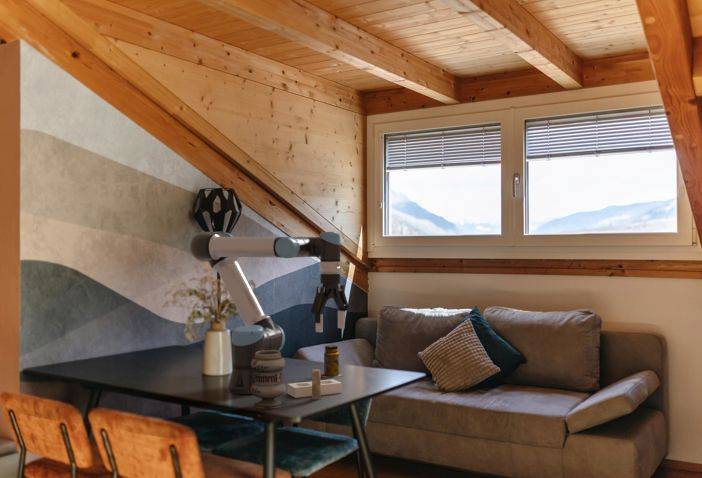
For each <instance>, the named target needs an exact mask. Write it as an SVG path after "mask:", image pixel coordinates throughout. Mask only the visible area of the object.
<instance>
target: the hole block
mask: <svg viewBox="0 0 702 478" xmlns="http://www.w3.org/2000/svg"><path fill="white" fill-rule="evenodd" d="M286 387H287V394H288V395H289V396H290V397H291V396H292V397H293V398H295V399H297V398H298V399H299V398H306V397H312V380H311V381H303V382H302V381H301V382H293V383H287V385H286ZM342 393H343V383H342V382H341V381H339V380H336V379H334V378H333V379H323V380H322V379H321V396H325V395H334V394H342Z"/></svg>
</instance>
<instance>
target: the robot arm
mask: <svg viewBox="0 0 702 478" xmlns="http://www.w3.org/2000/svg"><path fill="white" fill-rule="evenodd" d="M341 245H342V242H341V234H340V232H338V231H321V232H320V234H319V236H234V235H232V234H230V233H229V232H224V231H221V230H220V231H201V232H198V233H196V234H195V235H194V236H193V237H192V238H191V240H190V243H189V251H190V253H191V255H192V257H193V258H195V259H196V260H198V261H199V262H205V263H206V262H208V264H209V265H210V267H211V269H212V271H214V272H217V273H218V274H219V276H220V278H221V281H222V282H223V284H224V286H225V289H226V290H227V293H228V294H229V296H230V298H231V299H232V302H233V304H234V305H235V308H236V310H237V311H238V314H239V316H240V318H241V319H242V322H243V324H244V325H240V326H238V327H235V328H234V329H233V330H232V331H231V332H232V333H231V340H230V341H231V362H232V363H231V367H232V368H231V369H232V370H231V373H230V376H229V377H230V378H229V380H228V383H227V392H228V393H230V394H234V395H253V394H252V393H251V391H250V387H251V385H252V384H253V383H254V370H253V369H252V368H251V366H250V363H251V361H252V360H253V359H254V357H255V353H256V352H258V351H264V350H277V351H280V352H281V350H282V349H283V347H284V346H285V343H286V334H285V331H284V329H283V328H282V327H281V326H280V325H277V324H276V323H274V321H273V319H272V317H271V316H269V315H267V314H265V312H264V311H263V308H262V306H261V304H260V302H259V300H258V299H257V297H256V295H255V293H254V291H253V289H252V287H251V285H250V284H249V281H248V280H247V277H246V275H245V273H244V272H243V271H244V270H242V268H241V266H240V264H239V260H240V258H279V259H280V258H281V259H282V258H283V259H293V258H312V257H313V258H315V257H316V258H319V259H320V260H319V261H320V263H319V266H320V267H319V269H320V271H319V272H320V273H321V274H319V276H320V277H319V280H320V284H322V286H317V287H316V293H315V296H314V299H313V302H312V303H313V304H312V307H311V308H310V309H311V311H310V312H311V313H312V314H313V315H315V316H314V317H315V319H314V322H315V333H324V332H323V331H324V329H323V328H324V317H323V316H324V314H323V311H324V309H325V306H326V304H327V302H328V301H329V300H330V299H333V301H334V302H335V305H336V306H337V308H338V310H337V328H338V329H343V330H344V329H345V325H346V324H345V323H346V322H345V320H346V312H348V310H349V302H348V300H347V296H346V294H345V286H344V285H343V284H340V283H341V274H340V272H341Z"/></svg>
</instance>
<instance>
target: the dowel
mask: <svg viewBox="0 0 702 478" xmlns="http://www.w3.org/2000/svg"><path fill="white" fill-rule="evenodd" d="M320 374H321V369H317V368H315V369H312V370H311V381H312V396H311V397H312V398H311V399H312V400H314V401H318V400H321V399H322V395H321V380H322V379H321V378H322V377H321V376H320Z"/></svg>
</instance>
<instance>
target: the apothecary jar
mask: <svg viewBox="0 0 702 478" xmlns="http://www.w3.org/2000/svg"><path fill="white" fill-rule="evenodd" d="M250 366H251V368H252V369H253V370H254V383H253V384H252V385H251V387H250V391H251V393H252V394H251V395H253V396H254V397H257V398H259V399H261V400H259V401H257V402H255V403H254V404H253V408H256V409H259V410H260V409H261V410H262V409H263V410H267V409H270V410H273V409H278V408H282V407H283V406H284V403H283V402H281V401H279V400H277V398H279V397H282V396H283V395H284V394H285V393H286V392H287V390H288V388H287V385H286V383H284V380H283V379H284V377H283V369H284V368H285V367H286V360H285V359H284V358H283V357H282V354H281V350H280V351H277V350H264V351H258V352H256V353H255V357H254V359H253V360H252V361H251V363H250Z"/></svg>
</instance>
